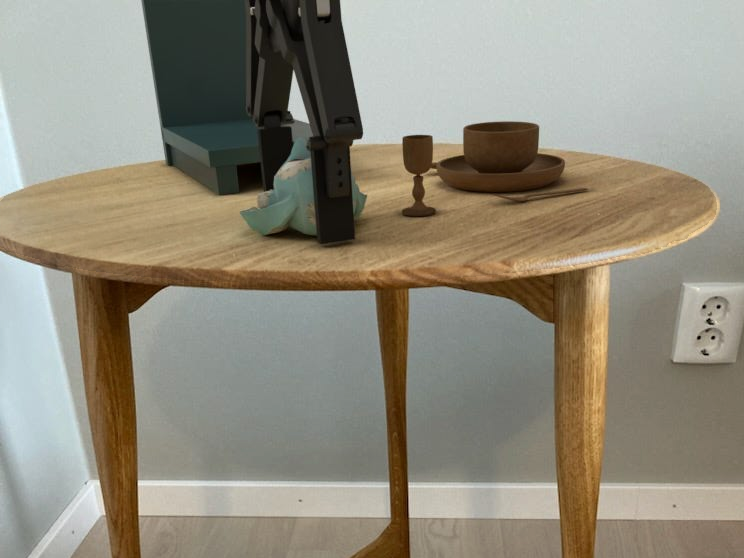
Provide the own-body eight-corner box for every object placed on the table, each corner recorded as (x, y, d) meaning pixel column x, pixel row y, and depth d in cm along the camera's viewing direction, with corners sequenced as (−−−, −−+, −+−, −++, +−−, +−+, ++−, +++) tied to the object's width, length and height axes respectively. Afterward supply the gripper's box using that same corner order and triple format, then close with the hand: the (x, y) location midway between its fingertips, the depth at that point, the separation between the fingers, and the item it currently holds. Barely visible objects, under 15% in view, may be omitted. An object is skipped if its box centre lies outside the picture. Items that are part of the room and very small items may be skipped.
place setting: (611, 188, 81) (617, 116, 78) (415, 219, 74) (413, 141, 71) (502, 162, 95) (503, 100, 92) (327, 186, 87) (322, 119, 84)
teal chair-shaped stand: (351, 178, 90) (337, -86, 79) (213, 195, 86) (178, -84, 75) (284, 151, 107) (264, -70, 96) (166, 164, 103) (131, -67, 92)
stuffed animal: (329, 138, 77) (392, 123, 67) (341, 226, 80) (403, 224, 69) (207, 152, 73) (254, 138, 63) (223, 244, 76) (271, 245, 65)
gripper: (406, -122, 53) (415, 250, 64) (277, -88, 73) (301, 193, 84) (284, -121, 51) (315, 266, 62) (184, -86, 70) (221, 204, 81)
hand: (307, 224), depth 73 cm, fingers closed on stuffed animal, 12 cm apart
